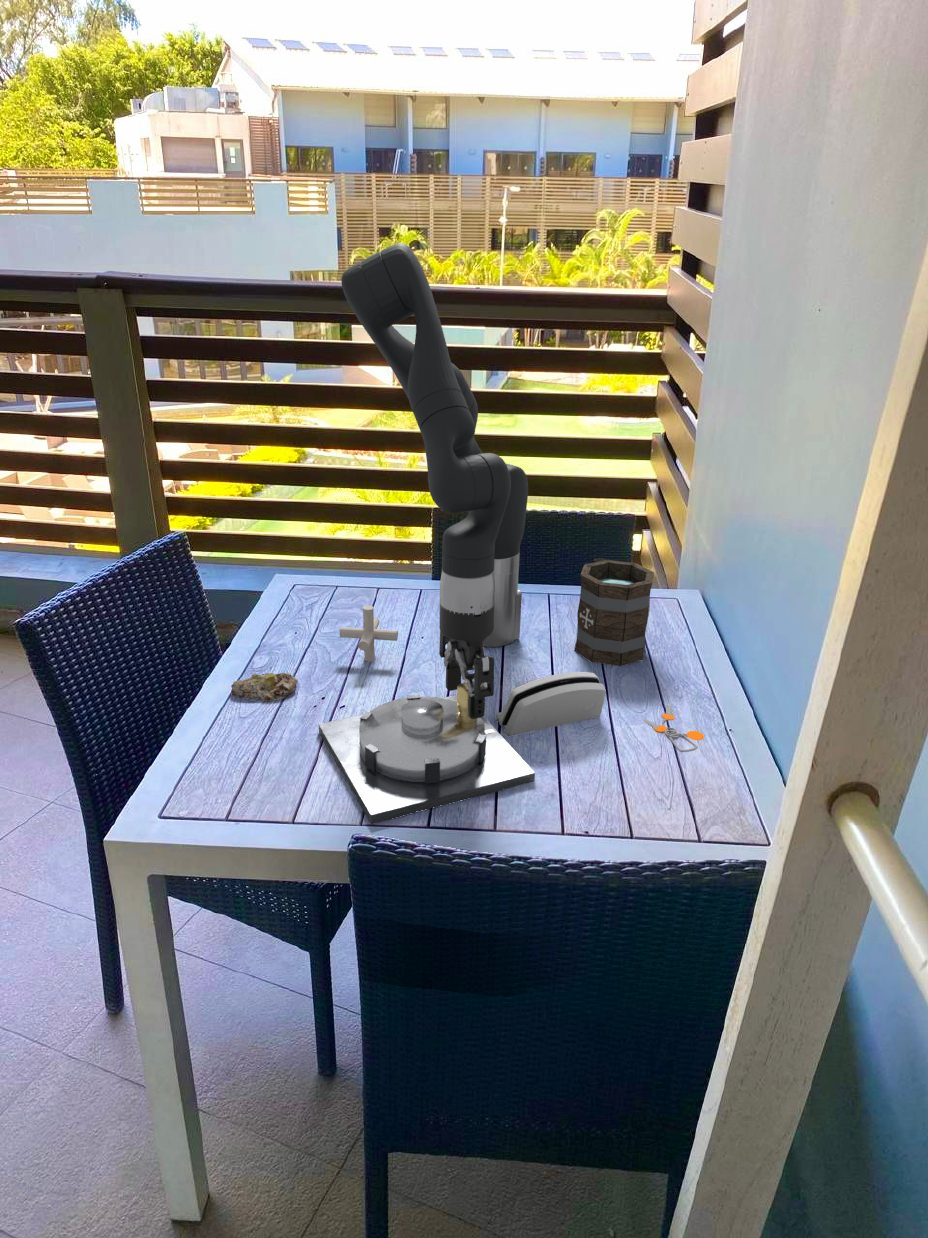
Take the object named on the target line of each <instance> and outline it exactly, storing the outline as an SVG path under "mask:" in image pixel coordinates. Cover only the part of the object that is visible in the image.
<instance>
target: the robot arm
mask: <svg viewBox="0 0 928 1238" xmlns="http://www.w3.org/2000/svg"><path fill="white" fill-rule="evenodd" d="M413 251H414V250H412V248H411V247H410V246H408V245H407V244H405V243H403V242H397V243H394V244H391V245H390V246H387V247H386V248H384V249H382V250H381V251H378V252H376V253H374V254H372V255H370V256H368V257H367V258H365V259H363V260H360V261H359V262H357V263H356V264H354V265H352V266H351V267H349V268H347V269H346V270H345V271H344V272H343V273H342V274H341V280H340V282H341V289H342V291H343V294H344V296H345V298H346V301H347V303H348V305H349V306H350V308H351V311H352V312H353V313H354V315H355V317H356V318H357V320H358V321H359V323H360V324H361V326H362V327H363V328H364V330H365V332H366V333H367V335H368V336H369V337H370V339H371V340H372V341H373V343H374V345H375V346H376V348H377V349H378V350H379V353H381V355H382V356H383V358H384V359H385V360H386V362H387V363H388V365H389V367H390V368H391V370H392V372H393V374H394V375H395V377H396V379H397V380H398V382H399V384H400V386H401V388H402V390H403V391H404V393H405V395H406V397H407V399H408V402H409V405H410V408H411V411H412V413H413V416H414V420H415V421H416V424H417V425H418V426H417V427H418V429H419V431H420V434H421V436H422V439H423V444H424V451H425V458H426V465H427V483H428V490H429V494H430V496H431V499H432V501H433V502H434V503H435V505H436V506H437V507H438V508H439V509H440V510H441V511H444V512H445V513H448V514H458V513H464V512H468V514H467V515H466V517H465V518H464V519H462V520H460V521H458V522H457V523H454V524H453V525H450V526H449V527H448V528H446V529H445V531H444V532H443V535H442V539H441V540H442V542H441V543H442V545H441V549H442V550H441V576H440V582H439V583H440V584H439V651H438V653H439V656H440V658H443V665H444V667H445V688H446V689H447V690H448V691H449V692H451V691H457V686H458V685H459V684H462V681H464V682H465V683H467V686H468V691H469V703H468V716H469V717H470V718H471V719H476V718H481V717H483V716H484V717H485V711H486V710H485V708H486V705H485V704H486V698H488V697H489V698H490V697H494V695H495V658H494V656H493V655H488V656H487V655H486V652H485V647H490V648H496V647H504V646H507V645H509V644H511V643H513V642H514V641H515V640H520V635H521V619H522V618H521V617H522V616H521V615H522V599H523V593H522V591H521V590H520V589H519V588H518V587H519V571H520V570H519V569H520V551H521V550H520V549H521V548H520V547H521V544H522V543H521V542H522V540H523V537H524V533H525V528H526V527H525V526H526V516H527V515H526V514H527V506H528V497H529V481H528V477H527V475H526V472H525V470H524V469H523V468H521V466H516V465H513V464H510V463H507V462H505V461H504V459H503V458H502V457H500V455H498V454H495V453H493V452H491V453H490V452H485V453H483V451H482V449H481V448H480V447H479V444H478V442H477V441H476V438H475V434H476V428H477V423H478V417H479V409H478V402H477V400H476V398H475V395H474V393H473V391H472V389H471V388H470V386H469V383H468V381H467V379H466V378H465V375H464V374H463V373H462V370H461V369H460V368H458V367H457V366H456V365H455V363H453V362H452V361H451V358H450V353H449V350H448V346H447V341H446V338H445V334H444V330H443V326H442V323H441V322H442V321H441V320H440V316H439V313H438V309H437V305H436V302H435V299H434V295H433V292H432V289H431V286H430V283H429V281H428V279H427V275H426V274H425V270H424V268H423V267H422V265H421V263H420V261H419V259H418V257H417V256H416V254H415V253H414V252H413ZM413 315H414V320H415V338H414V343H413V342H412V341H410V340H409V339H407V338H406V337H405V336H403V335H402V334H401V333H400V331H398V330H397V329H396V328H395V327H394V325H395V324H397V323H399V322H402V321H403V320H405V319H407V318H409V317H411V316H413ZM446 646H447V647H446ZM469 671H473V673H469ZM473 684H474V685H473Z"/></svg>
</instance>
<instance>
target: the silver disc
mask: <svg viewBox="0 0 928 1238" xmlns="http://www.w3.org/2000/svg"><path fill="white" fill-rule="evenodd" d="M473 685H474V683H473ZM456 691H457V692H456V695H457V702H455V701H452V700H448V699H444V698H445V697H437V696H421V694H407V695H406V697H402V698H398V699H393V700H390V701H387V702H385V703H382V704H381V705H377V706H376V707H374V708H373V709H371V710H370V711H368V710H367V711H365V712H364V713H363V714H361V715H362V716H361V718H360V727H359V738H360V753H361V756H362V758H363V760H364V761H365V766H366V767H368V768H369V769H370V770H372V771H373V772H375V771H377V772H378V773H380V774H382V775H385V776H388V777H390V778H394V779H398V780H403V781H410V782H425V784H426V783H437V782H440V780H445V779H449V778H453V777H456V776H458V775H461V774H463V773H465V772H467V771H468V770H470V769H471V768H473V767H474V766H475V765H476V764H477V763H478V762H482V760H483V758H484V757H485V755H486V735H485V726H484V722H483V720H482V719H481V718H476V719H471V718H470V717H469V716H468V703H469V691H468V686H467V682H461V684H459V685H458V686H457V690H456Z"/></svg>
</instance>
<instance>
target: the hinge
mask: <svg viewBox="0 0 928 1238" xmlns="http://www.w3.org/2000/svg"><path fill="white" fill-rule="evenodd" d="M606 693H607V691H606V689H605V686H604V684H603V683H600V678H599V677H598V675H596V674H595V673H594V672H588V671H586V672H585V671H584V672H583V671H574V672H573V671H572V672H564V673H557V674H552V675H549V676H544V677H541V678H538V679H535V680H531V681H529V682H526V683H524V684H522V685H519V686H517V687H515V688H513V689H512V690H511V691H510V693H509V695H508V698H507V700H506V702H505V704H504V707H503V708H502V711H501V712H497V713H496V716H495V719H494V720H495V723H499V726H503V727H504V730H503V734H504V735H505V736H506V737H508V738H509V737H514V736H519V735H524V734H528V733H532V732H537V731H541V730H546V729H550V728H555V727H559V726H564V725H569V724H573V723H579V722H584V721H589V720H591V719H596V718H600V717H601V714H602V710H603V705H604V701H605V697H606Z"/></svg>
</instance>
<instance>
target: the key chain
mask: <svg viewBox="0 0 928 1238" xmlns="http://www.w3.org/2000/svg"><path fill="white" fill-rule="evenodd" d="M673 711H674V710H673V706H672V705H666V711H665V713H662V714H661V718H662V719H664V720H663V721H662V722H661V724H656V723H655V722H652V721H650V720H648V719H646V718H643V720H642V721H643V722H644V723H645V724H647V726H651V728H652V729H653V731H655V732H657V733H664V734H665V736H666V737H668V738H669V740H670V741H671V744H673V745H674V747H675V749H678V750H677V751H679V752H682V753H683V752H685V753H686V752H692V751H695V750H697V749H698V748H699V747H698V745H697V744H695V743H694V742H693V741H703V740H704V739H705V735H704V734H703V733H702V732H700V731H697V730H689V731H688V732H686V733H683V732H677V729H676V728H675V727H668V726H665V722H667V721H672V720H675V718H676V716H675V715H674V713H673ZM675 738H677V739H679V738H681V739H683V738H684V739H686V740H687V741H688V742H689V743H691V744H692V745H693V747H691V748H688V749H681V748H680V747H679V745H678V744H677V743H676V742H675ZM690 739H691V740H693V741H691V740H690Z"/></svg>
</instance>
